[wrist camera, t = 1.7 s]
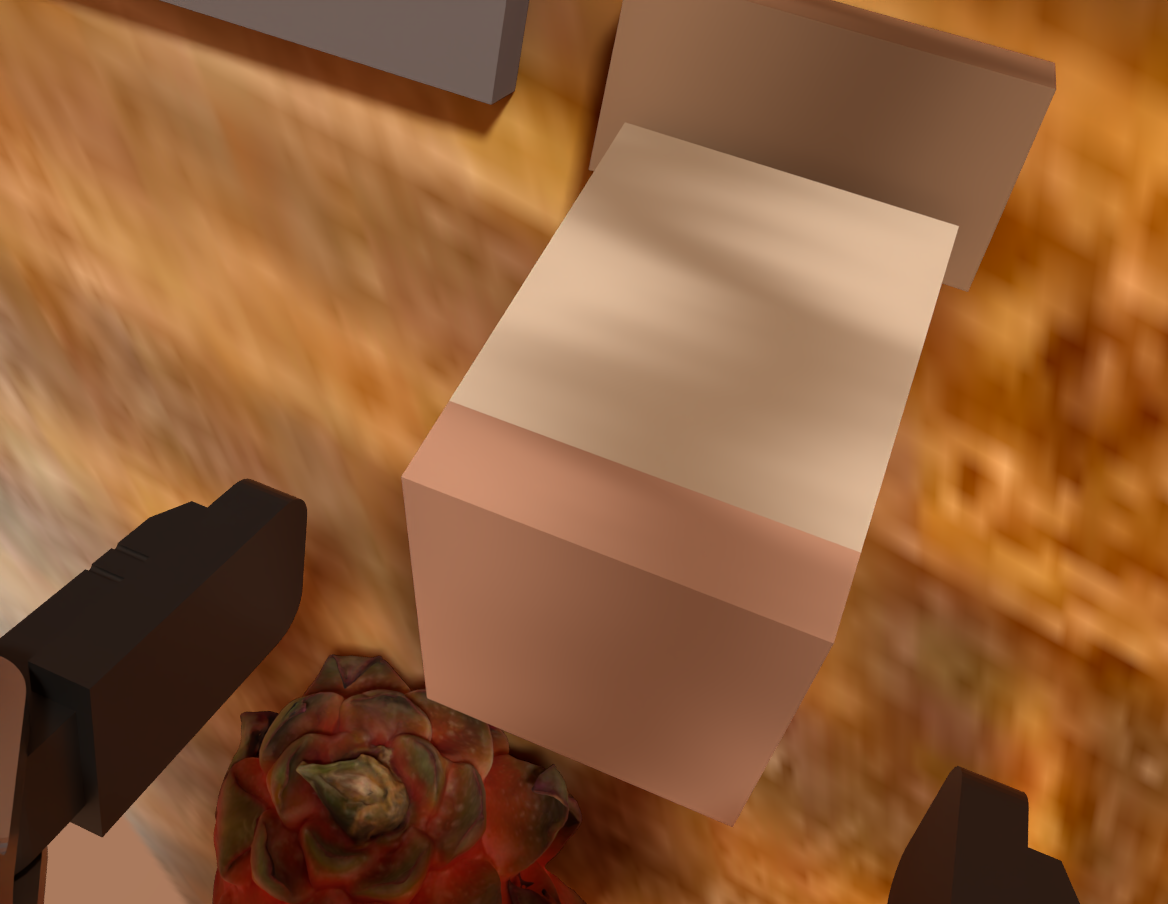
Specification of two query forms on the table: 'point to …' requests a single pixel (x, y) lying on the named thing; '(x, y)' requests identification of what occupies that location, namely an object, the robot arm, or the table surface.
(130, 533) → the robot arm
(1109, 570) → the table surface
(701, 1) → the block
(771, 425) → the pinkish tan block
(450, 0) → the charcoal mat
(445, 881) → the dragon fruit
